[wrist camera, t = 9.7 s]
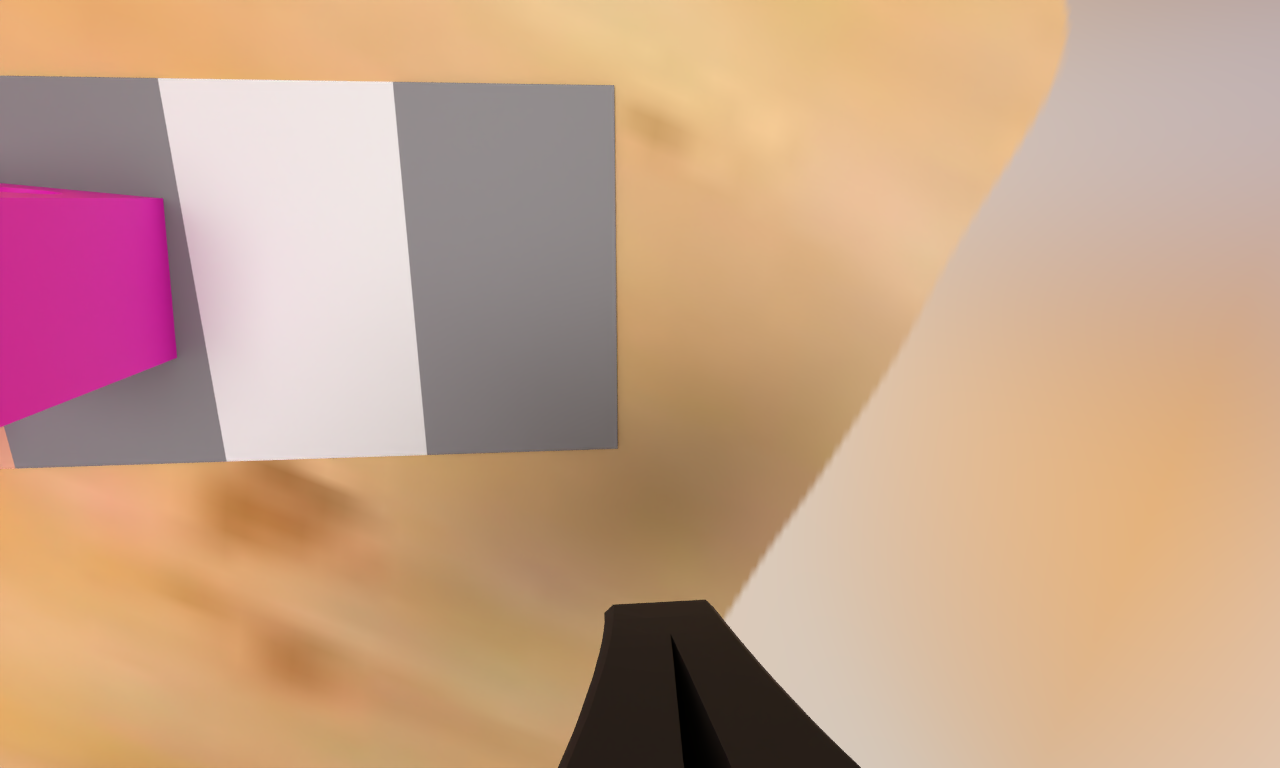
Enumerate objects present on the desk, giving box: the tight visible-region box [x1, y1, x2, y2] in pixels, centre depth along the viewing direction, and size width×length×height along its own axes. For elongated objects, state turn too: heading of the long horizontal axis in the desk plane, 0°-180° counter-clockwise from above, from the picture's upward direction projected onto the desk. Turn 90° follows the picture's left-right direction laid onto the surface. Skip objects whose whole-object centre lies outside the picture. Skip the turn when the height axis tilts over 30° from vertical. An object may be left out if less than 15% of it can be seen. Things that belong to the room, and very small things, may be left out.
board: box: [0, 76, 618, 469], centre depth 16 cm, size 9×25×1 cm, turn 90°
